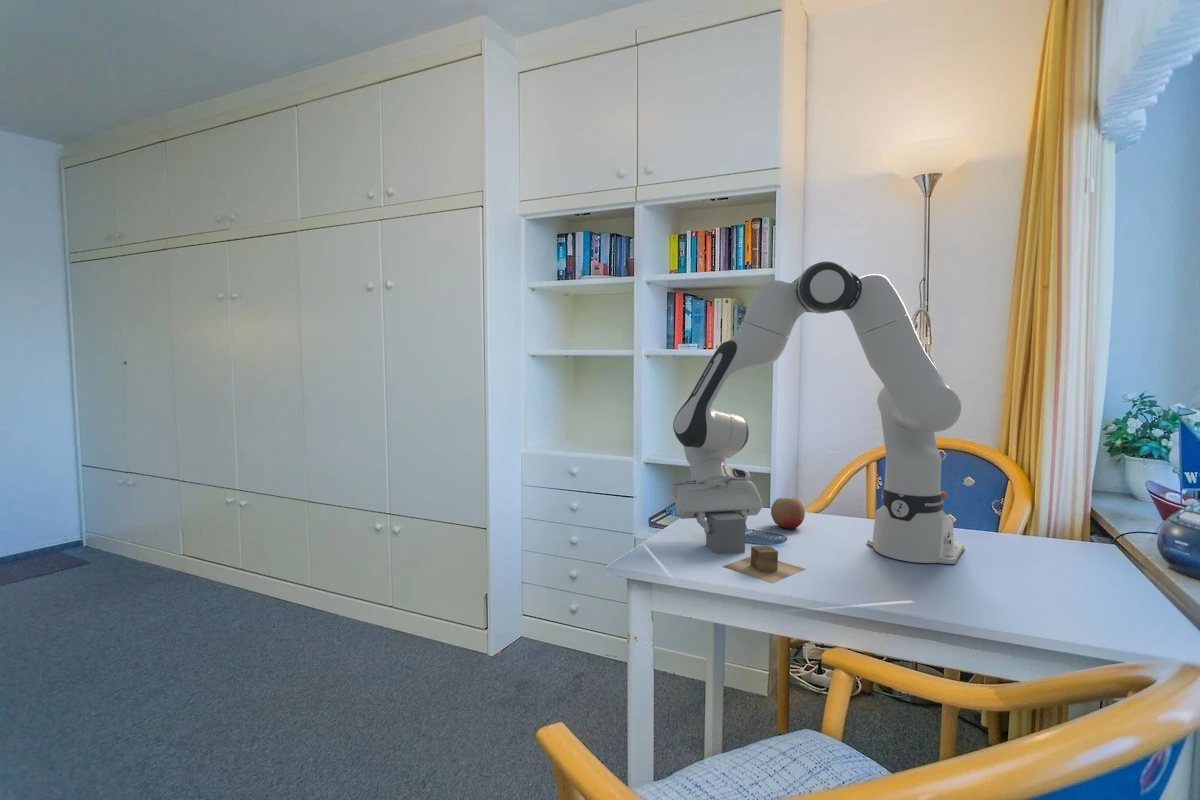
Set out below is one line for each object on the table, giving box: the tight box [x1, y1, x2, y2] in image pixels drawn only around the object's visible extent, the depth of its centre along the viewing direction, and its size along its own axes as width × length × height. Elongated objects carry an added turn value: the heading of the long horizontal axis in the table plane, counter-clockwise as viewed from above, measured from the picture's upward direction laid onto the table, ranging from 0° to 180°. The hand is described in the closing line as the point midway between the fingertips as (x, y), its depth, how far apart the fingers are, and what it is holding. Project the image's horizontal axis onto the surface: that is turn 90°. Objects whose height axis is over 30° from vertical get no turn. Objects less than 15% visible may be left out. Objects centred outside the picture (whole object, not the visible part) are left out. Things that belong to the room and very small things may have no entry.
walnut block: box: [750, 544, 779, 572], centre depth 128 cm, size 4×4×4 cm
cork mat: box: [722, 555, 806, 584], centre depth 129 cm, size 12×12×1 cm
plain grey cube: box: [705, 511, 747, 555], centre depth 141 cm, size 7×7×8 cm
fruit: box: [770, 497, 806, 530], centre depth 159 cm, size 8×8×8 cm
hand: (726, 531), depth 140 cm, fingers closed on plain grey cube, 7 cm apart
